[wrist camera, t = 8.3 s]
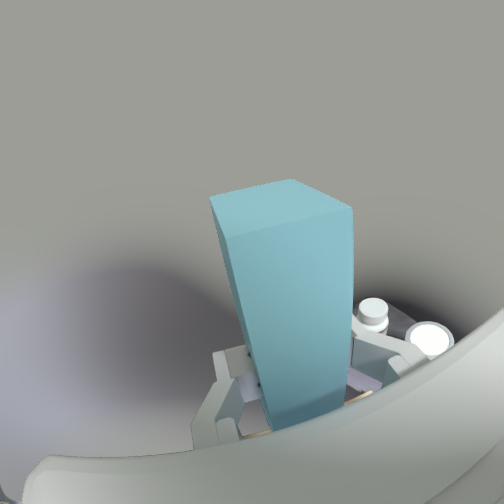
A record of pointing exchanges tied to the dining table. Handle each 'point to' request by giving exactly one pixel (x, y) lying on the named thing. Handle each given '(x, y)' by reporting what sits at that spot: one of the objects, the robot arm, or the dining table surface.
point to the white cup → (430, 338)
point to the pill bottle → (373, 315)
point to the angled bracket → (291, 293)
